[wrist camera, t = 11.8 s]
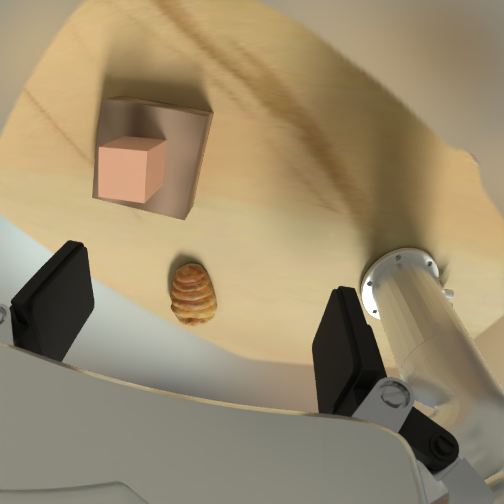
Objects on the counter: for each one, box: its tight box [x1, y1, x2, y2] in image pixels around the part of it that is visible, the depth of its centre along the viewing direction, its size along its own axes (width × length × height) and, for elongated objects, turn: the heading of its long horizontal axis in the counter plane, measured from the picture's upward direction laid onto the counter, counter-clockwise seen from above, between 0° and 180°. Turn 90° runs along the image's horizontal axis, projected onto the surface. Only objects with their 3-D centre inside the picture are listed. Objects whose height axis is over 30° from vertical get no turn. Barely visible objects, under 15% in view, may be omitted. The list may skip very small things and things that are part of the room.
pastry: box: [170, 263, 217, 326], centre depth 45 cm, size 9×7×4 cm
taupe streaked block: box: [92, 97, 214, 220], centre depth 35 cm, size 12×12×5 cm
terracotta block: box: [98, 136, 167, 203], centre depth 30 cm, size 5×5×6 cm
